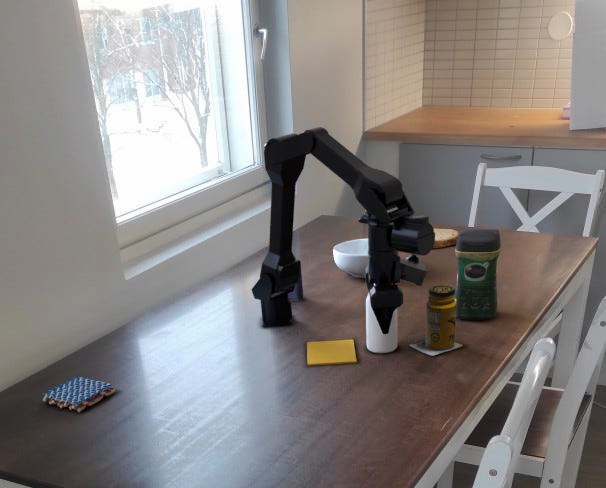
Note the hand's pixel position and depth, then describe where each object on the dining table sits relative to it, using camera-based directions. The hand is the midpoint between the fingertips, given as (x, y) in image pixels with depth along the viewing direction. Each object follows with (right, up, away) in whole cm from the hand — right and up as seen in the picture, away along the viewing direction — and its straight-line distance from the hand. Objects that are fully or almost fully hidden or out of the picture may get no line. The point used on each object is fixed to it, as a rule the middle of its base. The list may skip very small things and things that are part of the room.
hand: (383, 325), depth 166 cm
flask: (-21, +16, +34) cm, 43 cm away
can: (0, -4, +4) cm, 5 cm away
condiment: (+11, -4, +3) cm, 12 cm away
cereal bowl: (0, +26, +47) cm, 53 cm away
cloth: (-11, -5, +3) cm, 12 cm away
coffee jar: (+22, +7, +16) cm, 28 cm away
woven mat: (-61, -16, -7) cm, 63 cm away
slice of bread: (+18, +41, +66) cm, 80 cm away
